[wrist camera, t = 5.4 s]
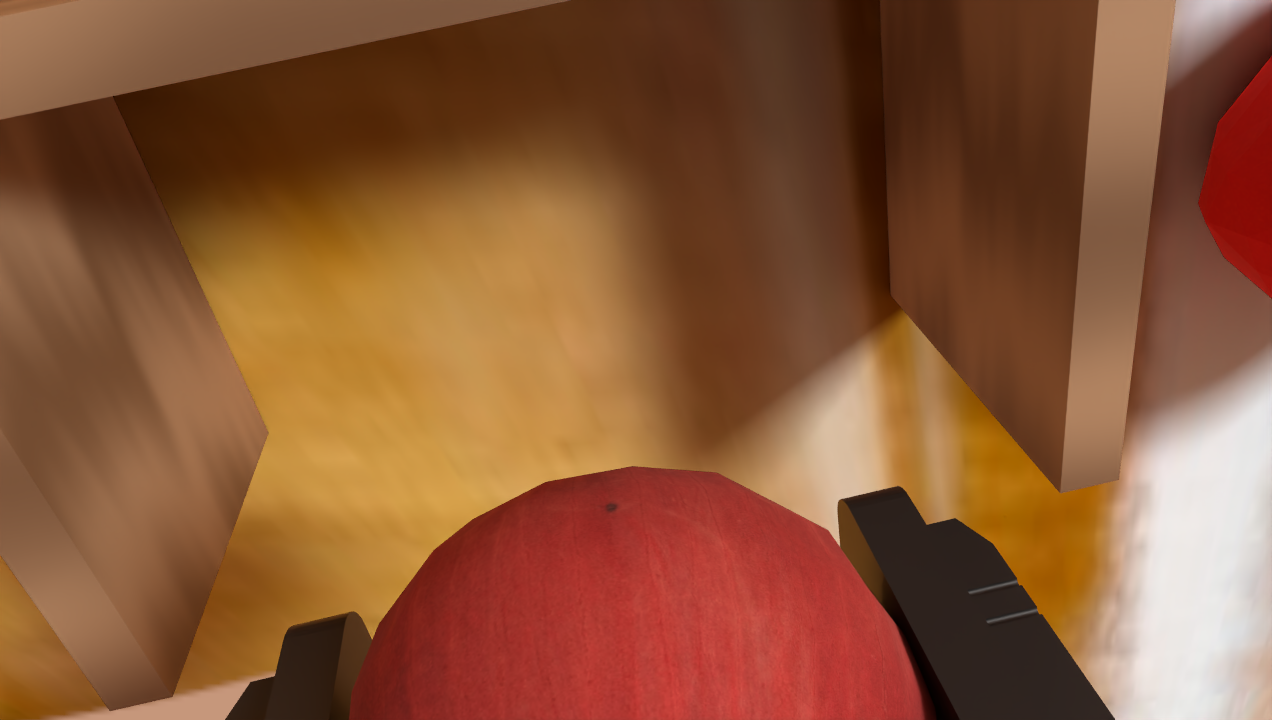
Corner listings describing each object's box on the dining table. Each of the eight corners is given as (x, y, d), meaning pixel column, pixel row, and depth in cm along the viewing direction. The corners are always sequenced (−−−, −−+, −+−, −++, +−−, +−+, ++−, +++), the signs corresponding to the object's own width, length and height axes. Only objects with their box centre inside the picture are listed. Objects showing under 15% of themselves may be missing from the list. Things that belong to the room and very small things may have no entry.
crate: (-4, -19, 19) (-331, 84, 12) (926, -209, 20) (1202, -231, 12) (225, 442, 26) (109, 710, 18) (931, 286, 26) (1118, 479, 18)
